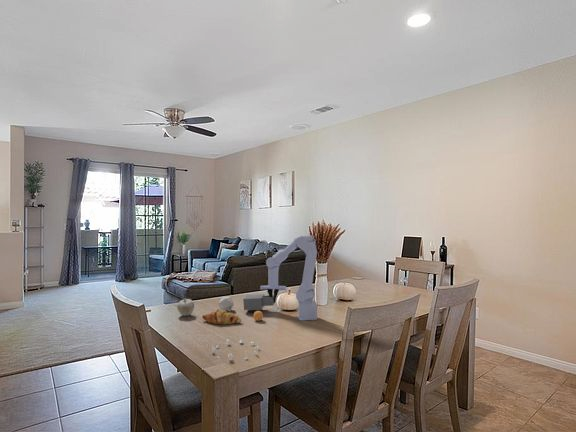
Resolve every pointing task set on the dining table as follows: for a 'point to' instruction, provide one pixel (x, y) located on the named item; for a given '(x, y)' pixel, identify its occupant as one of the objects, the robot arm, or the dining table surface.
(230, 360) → the game piece set
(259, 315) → the egg
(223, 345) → the dining table surface
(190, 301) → the decorative object
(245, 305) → the grey stepped block
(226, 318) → the croissant
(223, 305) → the die
